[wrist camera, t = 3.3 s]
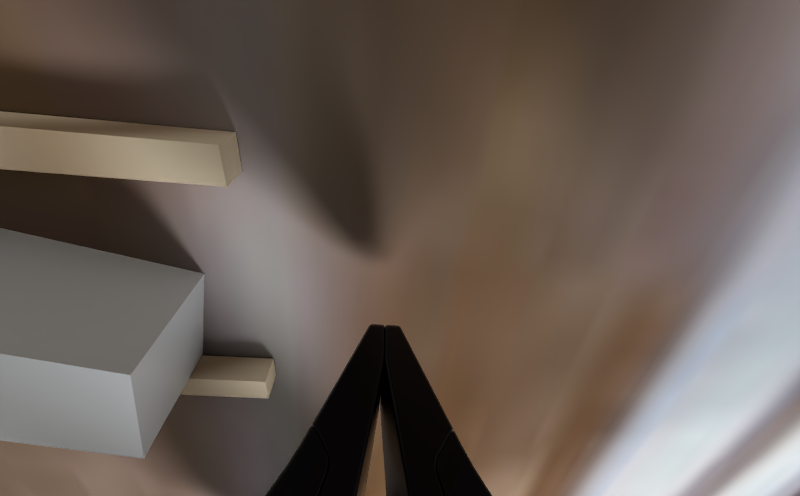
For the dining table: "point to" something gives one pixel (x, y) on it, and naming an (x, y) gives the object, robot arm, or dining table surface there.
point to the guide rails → (150, 161)
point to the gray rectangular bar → (92, 345)
